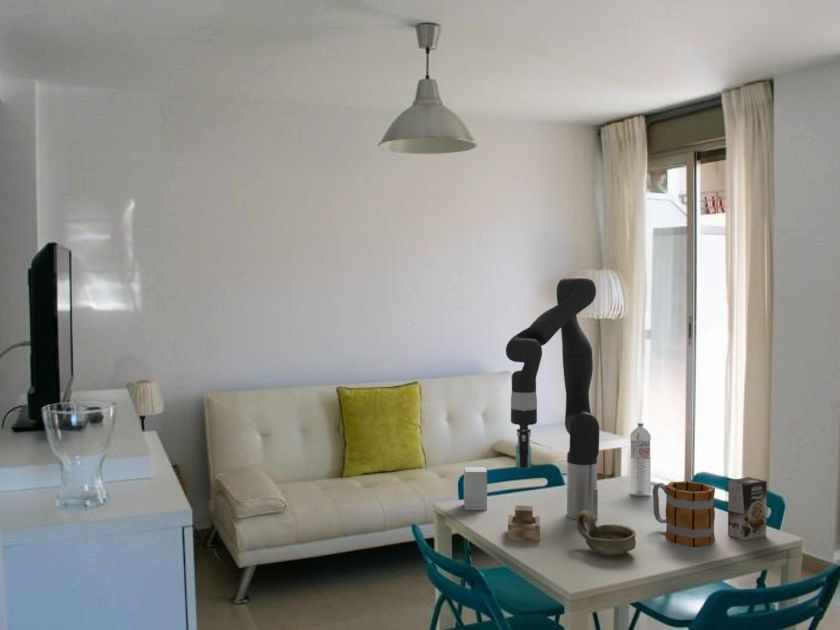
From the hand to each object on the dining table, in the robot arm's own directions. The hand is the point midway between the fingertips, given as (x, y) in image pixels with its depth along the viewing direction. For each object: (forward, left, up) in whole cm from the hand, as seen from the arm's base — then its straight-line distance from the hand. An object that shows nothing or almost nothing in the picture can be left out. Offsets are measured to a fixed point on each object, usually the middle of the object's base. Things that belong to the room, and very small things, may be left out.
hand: (523, 465), depth 219 cm
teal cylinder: (0, 0, 0) cm, 0 cm away
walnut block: (0, 0, -17) cm, 17 cm away
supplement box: (+16, -27, -21) cm, 38 cm away
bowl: (-22, +11, -21) cm, 32 cm away
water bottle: (-40, -50, -21) cm, 67 cm away
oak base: (0, 0, -20) cm, 20 cm away
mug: (-45, -5, -21) cm, 50 cm away
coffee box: (-64, -8, -21) cm, 68 cm away
